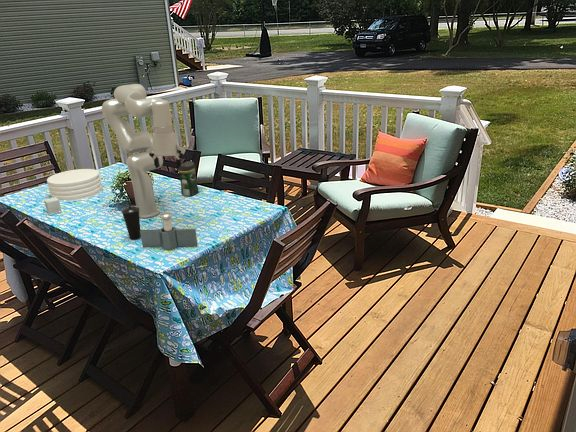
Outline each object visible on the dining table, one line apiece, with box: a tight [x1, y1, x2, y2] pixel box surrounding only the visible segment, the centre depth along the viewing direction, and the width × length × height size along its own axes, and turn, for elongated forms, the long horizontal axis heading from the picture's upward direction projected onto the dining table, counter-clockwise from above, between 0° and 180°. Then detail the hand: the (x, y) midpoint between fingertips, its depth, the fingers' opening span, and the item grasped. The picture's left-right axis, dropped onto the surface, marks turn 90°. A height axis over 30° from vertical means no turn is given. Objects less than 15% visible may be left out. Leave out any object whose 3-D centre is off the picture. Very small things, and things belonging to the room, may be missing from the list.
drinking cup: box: [121, 195, 141, 241], centre depth 212 cm, size 8×8×20 cm
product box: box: [43, 197, 62, 215], centre depth 249 cm, size 6×6×7 cm
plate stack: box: [46, 168, 104, 201], centre depth 275 cm, size 28×28×12 cm
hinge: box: [140, 225, 199, 251], centre depth 203 cm, size 24×7×8 cm, turn 87°
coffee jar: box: [177, 160, 199, 197], centre depth 265 cm, size 10×8×19 cm
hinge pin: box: [159, 211, 173, 232], centre depth 202 cm, size 5×5×15 cm
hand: (168, 167), depth 211 cm, fingers open, 9 cm apart
